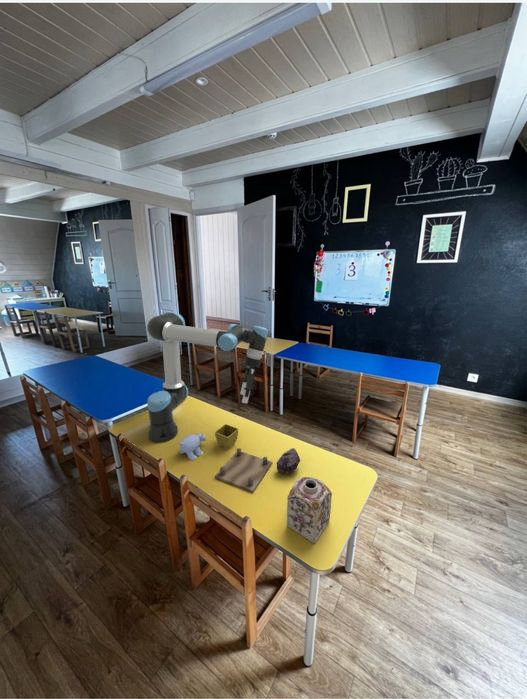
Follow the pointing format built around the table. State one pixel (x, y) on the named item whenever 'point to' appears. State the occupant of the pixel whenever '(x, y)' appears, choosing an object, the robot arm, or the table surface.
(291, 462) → the rock
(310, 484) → the decorative jar
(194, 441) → the hippopotamus toy
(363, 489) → the table surface
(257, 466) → the standoff plate
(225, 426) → the flower pot
